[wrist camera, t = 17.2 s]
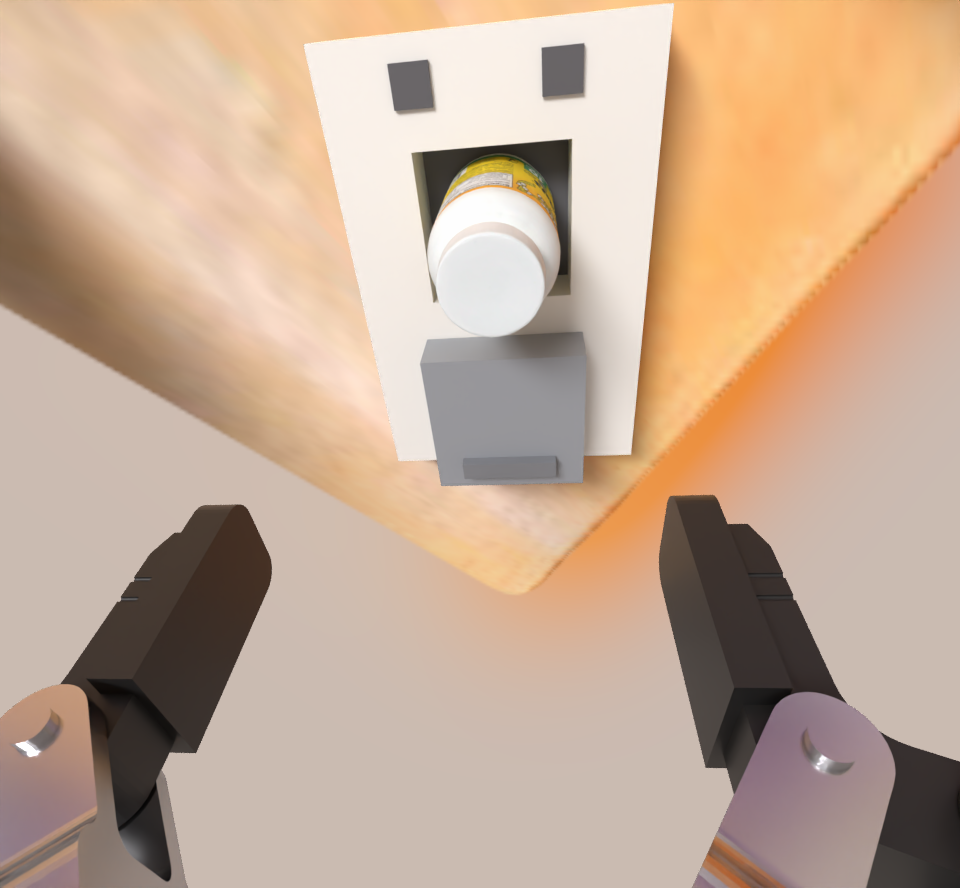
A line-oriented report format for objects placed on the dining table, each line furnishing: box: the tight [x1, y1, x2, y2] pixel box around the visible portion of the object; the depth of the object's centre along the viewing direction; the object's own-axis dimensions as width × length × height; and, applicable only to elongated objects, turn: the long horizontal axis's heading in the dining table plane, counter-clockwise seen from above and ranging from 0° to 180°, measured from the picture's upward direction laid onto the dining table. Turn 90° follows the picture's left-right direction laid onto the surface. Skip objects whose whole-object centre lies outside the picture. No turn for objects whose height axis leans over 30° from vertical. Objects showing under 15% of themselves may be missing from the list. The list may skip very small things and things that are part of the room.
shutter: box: [420, 332, 587, 486], centre depth 30 cm, size 8×8×3 cm
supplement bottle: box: [427, 153, 561, 337], centre depth 24 cm, size 5×5×10 cm
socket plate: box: [303, 3, 674, 461], centre depth 29 cm, size 14×21×3 cm, turn 5°
